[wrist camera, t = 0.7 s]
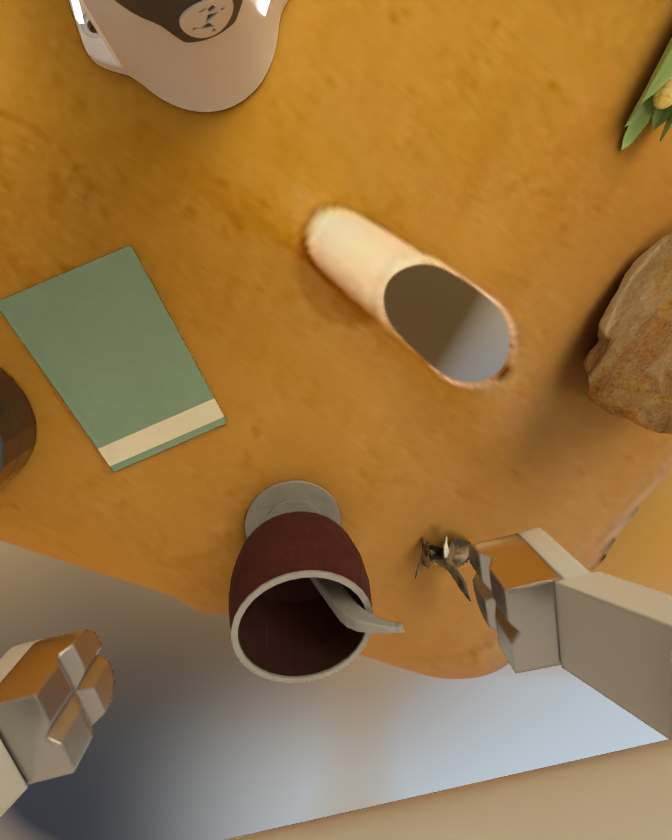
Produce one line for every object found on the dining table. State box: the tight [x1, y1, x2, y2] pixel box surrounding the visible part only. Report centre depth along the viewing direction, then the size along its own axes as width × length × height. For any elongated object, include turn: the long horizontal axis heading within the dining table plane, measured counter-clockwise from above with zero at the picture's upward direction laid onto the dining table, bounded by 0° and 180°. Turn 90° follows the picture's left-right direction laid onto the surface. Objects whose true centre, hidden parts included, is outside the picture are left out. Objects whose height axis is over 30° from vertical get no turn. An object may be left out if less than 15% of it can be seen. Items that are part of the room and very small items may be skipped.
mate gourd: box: [229, 480, 404, 683], centre depth 43 cm, size 16×14×20 cm
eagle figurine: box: [415, 536, 471, 602], centre depth 55 cm, size 8×7×9 cm
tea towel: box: [0, 245, 228, 472], centre depth 42 cm, size 20×14×1 cm
